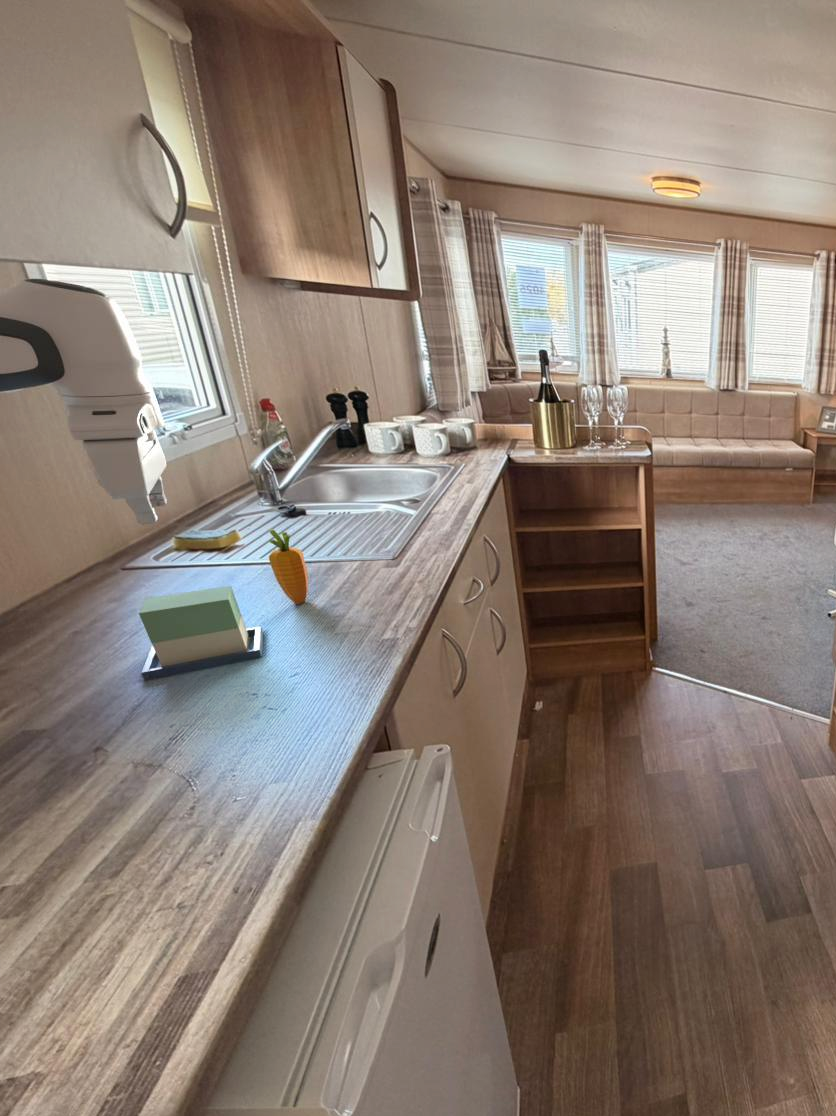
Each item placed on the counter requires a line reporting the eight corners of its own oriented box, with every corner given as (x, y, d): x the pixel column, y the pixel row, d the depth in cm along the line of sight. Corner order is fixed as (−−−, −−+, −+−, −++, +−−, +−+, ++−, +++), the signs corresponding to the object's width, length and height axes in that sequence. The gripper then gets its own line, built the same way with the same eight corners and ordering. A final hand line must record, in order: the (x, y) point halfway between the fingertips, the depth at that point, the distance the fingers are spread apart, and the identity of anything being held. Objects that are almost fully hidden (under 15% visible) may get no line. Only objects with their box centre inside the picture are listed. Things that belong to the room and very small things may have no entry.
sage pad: (151, 643, 94) (138, 613, 92) (157, 627, 98) (145, 598, 96) (238, 628, 100) (228, 599, 97) (240, 613, 104) (231, 585, 102)
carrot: (320, 606, 120) (299, 531, 113) (288, 614, 116) (264, 536, 110) (313, 598, 123) (291, 524, 116) (281, 605, 119) (257, 529, 113)
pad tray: (146, 685, 94) (140, 672, 93) (155, 657, 101) (150, 645, 100) (263, 661, 101) (259, 649, 101) (264, 637, 108) (261, 626, 108)
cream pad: (164, 672, 96) (151, 643, 94) (169, 655, 100) (157, 627, 98) (248, 655, 102) (239, 628, 100) (250, 640, 106) (241, 613, 104)
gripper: (99, 404, 91) (136, 498, 97) (63, 429, 76) (109, 537, 82) (159, 403, 95) (191, 493, 100) (136, 426, 80) (175, 530, 86)
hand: (154, 513), depth 91 cm, fingers open, 8 cm apart
